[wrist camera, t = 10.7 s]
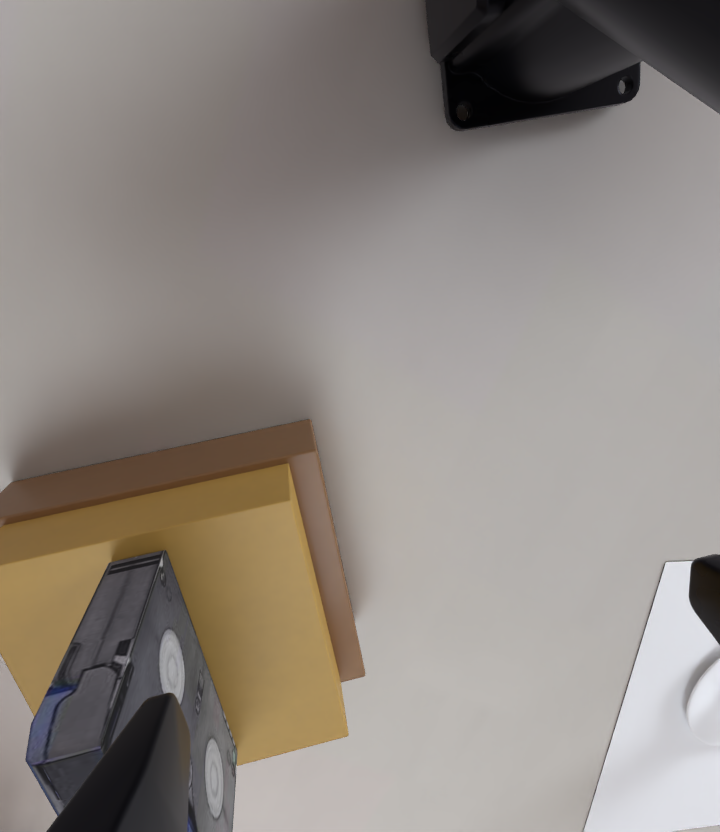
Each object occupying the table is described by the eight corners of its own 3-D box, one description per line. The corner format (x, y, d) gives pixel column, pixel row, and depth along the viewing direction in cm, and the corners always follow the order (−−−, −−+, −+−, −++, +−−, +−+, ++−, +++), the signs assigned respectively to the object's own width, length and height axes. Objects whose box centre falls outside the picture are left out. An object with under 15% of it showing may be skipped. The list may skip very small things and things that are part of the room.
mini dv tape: (110, 559, 14) (8, 769, 9) (165, 547, 15) (98, 746, 9) (192, 762, 17) (154, 1016, 12) (237, 750, 17) (221, 995, 12)
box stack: (310, 418, 20) (324, 484, 15) (354, 623, 23) (378, 734, 18) (10, 481, 19) (-88, 575, 14) (104, 685, 22) (54, 821, 17)
